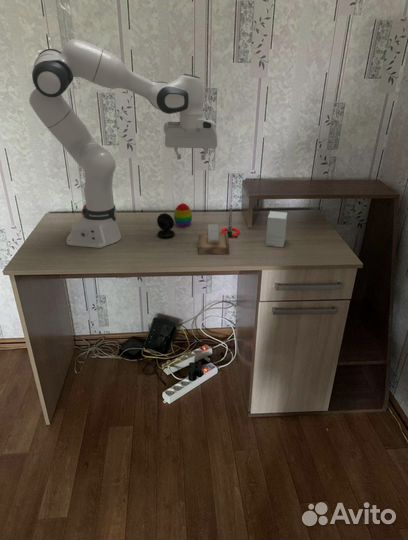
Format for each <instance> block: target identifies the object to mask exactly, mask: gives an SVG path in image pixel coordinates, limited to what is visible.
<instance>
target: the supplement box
mask: <svg viewBox="0 0 408 540" xmlns="http://www.w3.org/2000/svg"><path fill="white" fill-rule="evenodd" d="M287 220H288V212H284V211H273V210H269V213H268V216H267V221H266V222H267V223H266V224H267V225H266V237H265V239H266V241H265V246H268V247H276V248H284V246H285V242H286V231H287V222H288V221H287Z"/></svg>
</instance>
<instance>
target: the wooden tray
mask: <svg viewBox="0 0 408 540" xmlns="http://www.w3.org/2000/svg"><path fill="white" fill-rule="evenodd" d="M229 238H230V237H228V232H227V231H225V235H222V234H219V235H218V244H208V234H198V255H229V254H230V240H229Z"/></svg>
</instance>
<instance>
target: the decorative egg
mask: <svg viewBox="0 0 408 540" xmlns="http://www.w3.org/2000/svg"><path fill="white" fill-rule="evenodd" d="M192 213H193V212H192V211H191V209H190V206H188V205H187V204H186V203H180V204H178V206H176V208H175V210H174V213H173V221H174V222H175V223H174V224H176V226H178V227H183V228H184V227H188V226H190V224H191V223H192V220H193V214H192Z"/></svg>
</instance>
